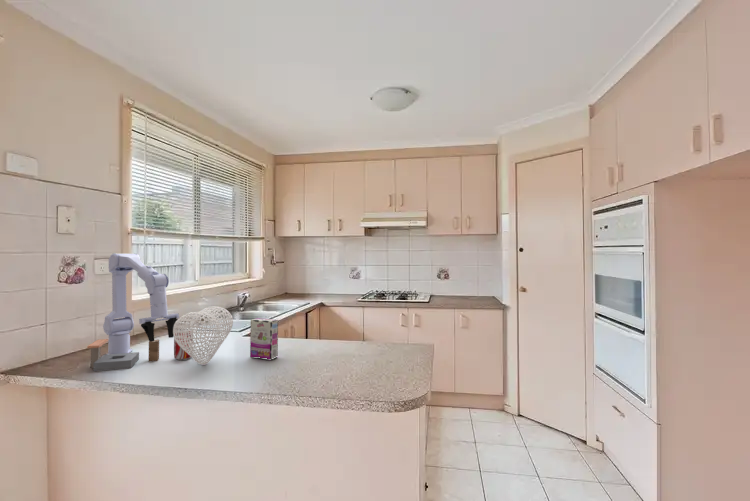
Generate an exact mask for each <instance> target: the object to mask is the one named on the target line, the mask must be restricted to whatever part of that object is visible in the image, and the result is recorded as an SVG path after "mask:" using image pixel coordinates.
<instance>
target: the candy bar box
mask: <svg viewBox="0 0 750 501" xmlns="http://www.w3.org/2000/svg"><path fill="white" fill-rule="evenodd" d="M278 334H279V320H278V319H271V318H258V317H257V318H254V319H253V318H252V319H250V335H249V336H250V338H249V339H250V341H249V342H250V343H249V344H250V346H249V347H250V350H249V351H250V352H249V356H250V357H260V358H267V359H272V358H274V357H276V356H278V353H279V352H278V349H279V348H278V347H279V345H278V344H279V335H278Z"/></svg>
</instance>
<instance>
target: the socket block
mask: <svg viewBox="0 0 750 501" xmlns="http://www.w3.org/2000/svg"><path fill="white" fill-rule="evenodd" d="M108 342H109V338H105V339H104V338H102V339H96V340H95V341H93V342H92V343H90V344H88V345H87V347H86V348H87V349H90V368H91V369H93V370H92V371H93V372H97V371H98V372H99V371H110V370H111V371H112V370H124V369H132V367H133V366H134V365H135V364H137V362H138V361H139V360H140V352H139V351H137V352H130V353H119V354H108V353H107V354H103V355H101V347H102V346H103V345H105V344H106V343H108Z"/></svg>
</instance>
